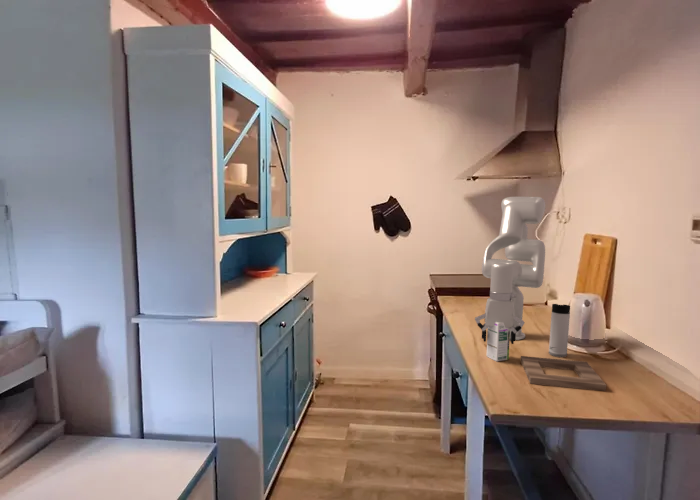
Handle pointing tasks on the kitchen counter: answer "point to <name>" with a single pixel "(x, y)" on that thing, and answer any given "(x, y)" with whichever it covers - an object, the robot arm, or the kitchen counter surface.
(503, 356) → the syrup box
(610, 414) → the kitchen counter surface
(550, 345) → the travel mug
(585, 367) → the hole board
